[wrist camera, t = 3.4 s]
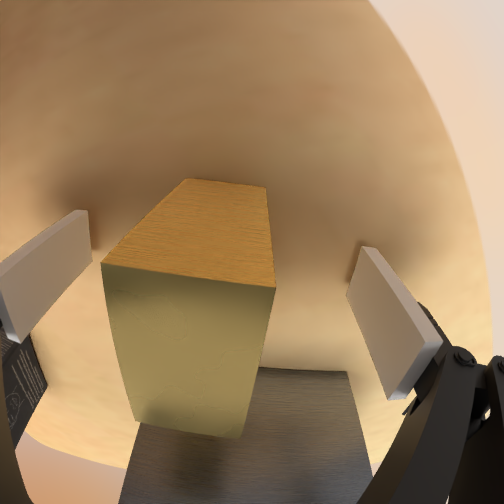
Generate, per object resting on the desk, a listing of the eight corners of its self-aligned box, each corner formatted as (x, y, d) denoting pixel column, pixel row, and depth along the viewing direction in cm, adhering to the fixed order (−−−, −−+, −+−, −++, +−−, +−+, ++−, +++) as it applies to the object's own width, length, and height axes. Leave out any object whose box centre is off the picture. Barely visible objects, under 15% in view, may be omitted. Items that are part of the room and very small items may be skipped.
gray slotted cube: (162, 353, 17) (111, 532, 6) (346, 371, 18) (384, 539, 7) (173, 437, 22) (152, 549, 12) (301, 448, 23) (309, 558, 12)
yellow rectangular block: (186, 177, 13) (100, 262, 5) (265, 187, 13) (276, 287, 5) (181, 291, 15) (135, 420, 8) (247, 300, 15) (240, 438, 8)
